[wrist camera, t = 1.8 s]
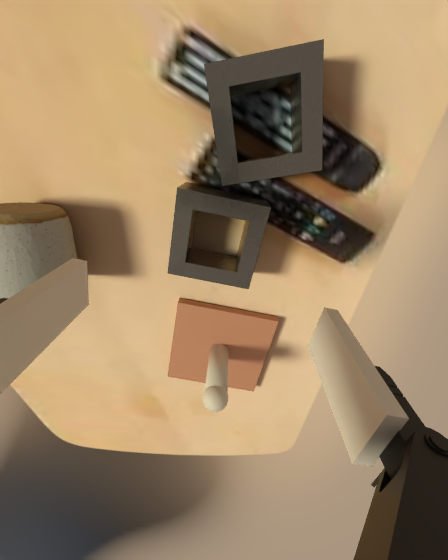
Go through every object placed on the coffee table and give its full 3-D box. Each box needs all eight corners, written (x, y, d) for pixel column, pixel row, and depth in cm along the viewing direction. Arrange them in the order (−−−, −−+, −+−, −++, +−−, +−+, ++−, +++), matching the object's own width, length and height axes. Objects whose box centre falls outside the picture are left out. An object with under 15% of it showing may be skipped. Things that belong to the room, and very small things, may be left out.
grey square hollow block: (209, 78, 21) (204, 64, 18) (308, 58, 21) (323, 39, 17) (224, 180, 25) (222, 185, 21) (309, 167, 24) (322, 170, 20)
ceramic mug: (82, 202, 26) (27, 220, 19) (95, 275, 30) (52, 312, 23) (-19, 194, 27) (-110, 209, 20) (5, 267, 30) (-64, 302, 23)
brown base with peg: (179, 298, 31) (159, 352, 23) (277, 316, 32) (292, 376, 23) (169, 370, 36) (149, 436, 28) (253, 385, 37) (258, 454, 28)
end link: (185, 182, 25) (177, 187, 22) (266, 199, 26) (271, 207, 22) (176, 258, 29) (167, 273, 25) (246, 272, 29) (248, 289, 25)
